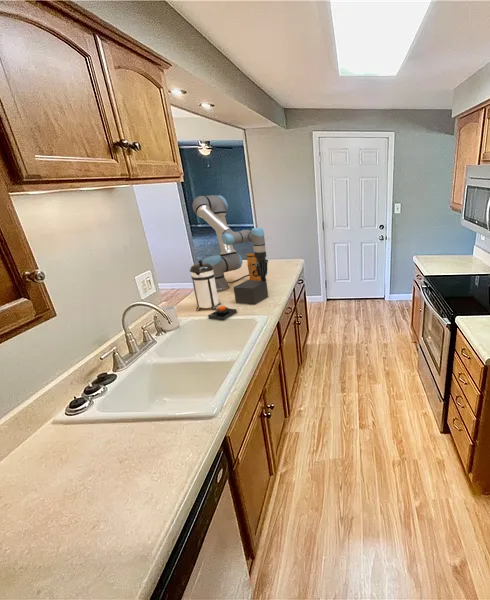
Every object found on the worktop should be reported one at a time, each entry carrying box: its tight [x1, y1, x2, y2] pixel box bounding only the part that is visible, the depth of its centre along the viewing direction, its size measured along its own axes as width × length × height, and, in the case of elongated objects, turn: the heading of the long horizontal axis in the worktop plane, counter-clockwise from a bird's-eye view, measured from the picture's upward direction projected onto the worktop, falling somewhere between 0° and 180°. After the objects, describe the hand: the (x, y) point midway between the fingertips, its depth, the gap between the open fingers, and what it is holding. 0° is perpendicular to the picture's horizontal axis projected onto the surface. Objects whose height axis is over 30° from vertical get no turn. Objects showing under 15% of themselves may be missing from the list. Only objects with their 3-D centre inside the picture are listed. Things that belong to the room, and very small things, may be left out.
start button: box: [217, 305, 227, 311], centre depth 190 cm, size 4×4×2 cm
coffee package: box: [246, 252, 261, 281], centre depth 252 cm, size 10×12×22 cm
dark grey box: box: [233, 279, 269, 306], centre depth 214 cm, size 16×14×11 cm
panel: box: [207, 306, 238, 321], centre depth 190 cm, size 12×10×4 cm
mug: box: [155, 305, 180, 332], centre depth 175 cm, size 12×9×11 cm
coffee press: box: [189, 259, 221, 312], centre depth 199 cm, size 17×16×30 cm
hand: (264, 285), depth 228 cm, fingers closed
